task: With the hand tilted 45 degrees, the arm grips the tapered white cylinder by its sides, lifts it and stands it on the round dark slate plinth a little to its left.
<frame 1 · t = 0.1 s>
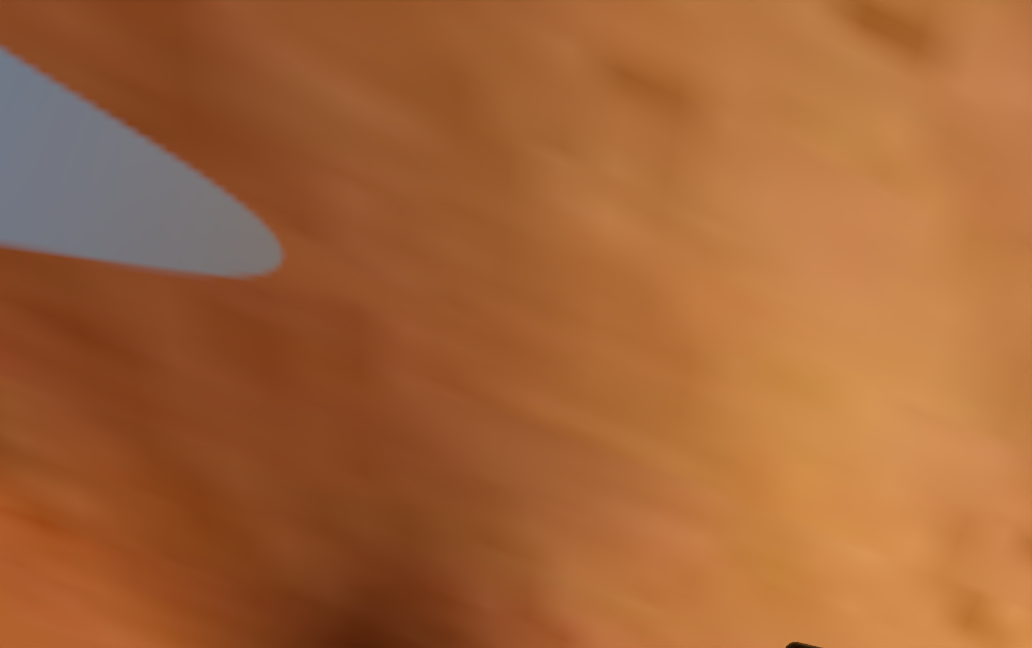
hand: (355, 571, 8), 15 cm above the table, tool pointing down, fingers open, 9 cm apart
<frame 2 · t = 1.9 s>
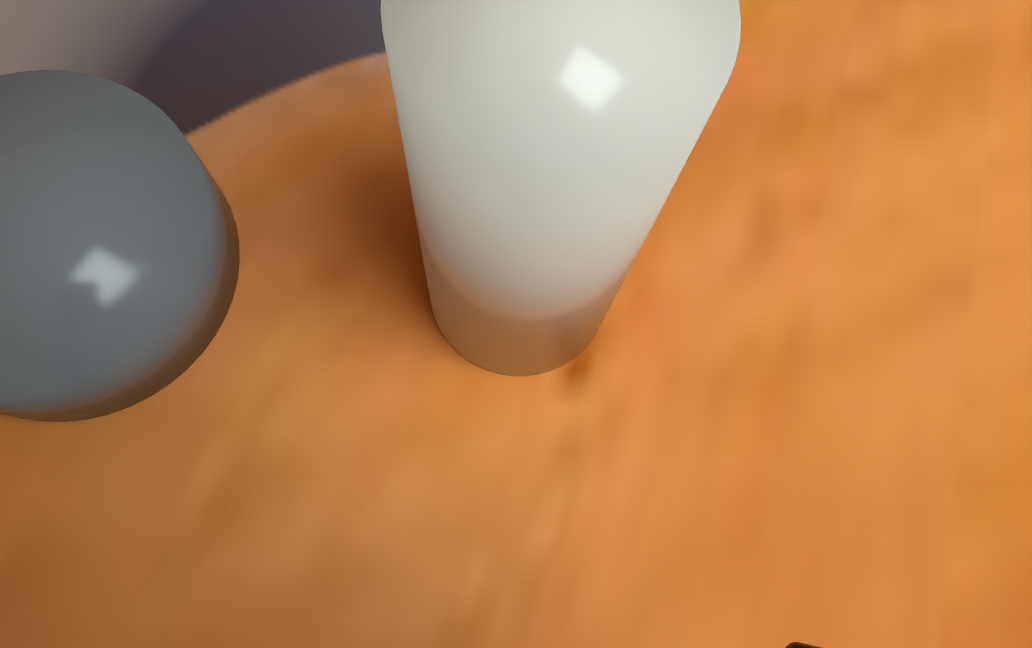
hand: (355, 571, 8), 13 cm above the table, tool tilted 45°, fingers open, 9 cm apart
plinth: (80, 266, 23), on the table
tapered white cylinder: (518, 289, 23), on the table
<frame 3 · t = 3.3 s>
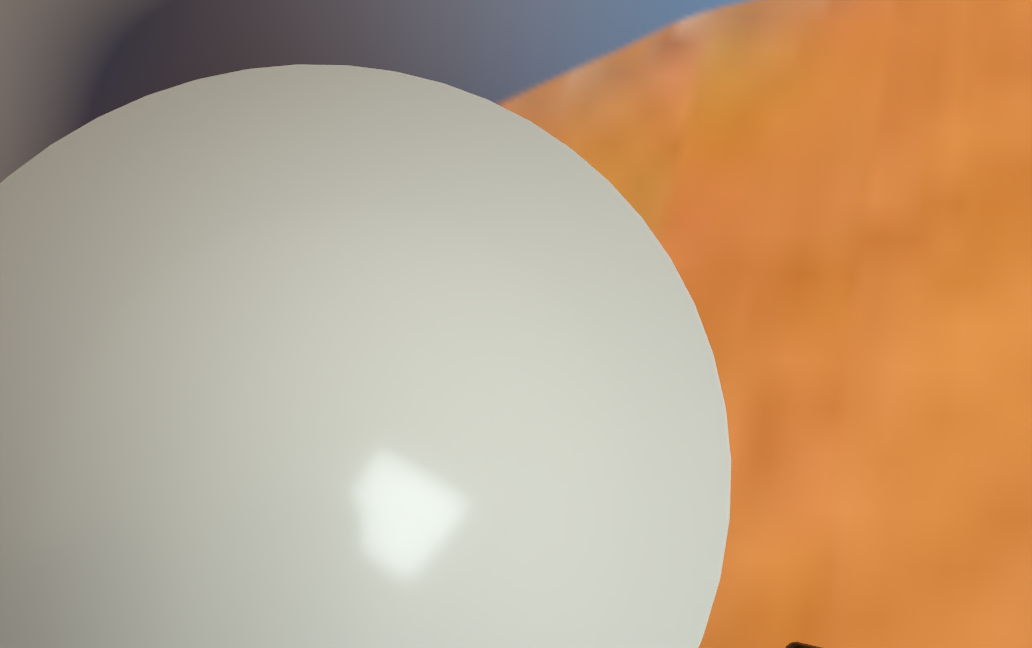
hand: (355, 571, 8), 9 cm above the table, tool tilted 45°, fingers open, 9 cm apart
tapered white cylinder: (423, 539, 17), on the table
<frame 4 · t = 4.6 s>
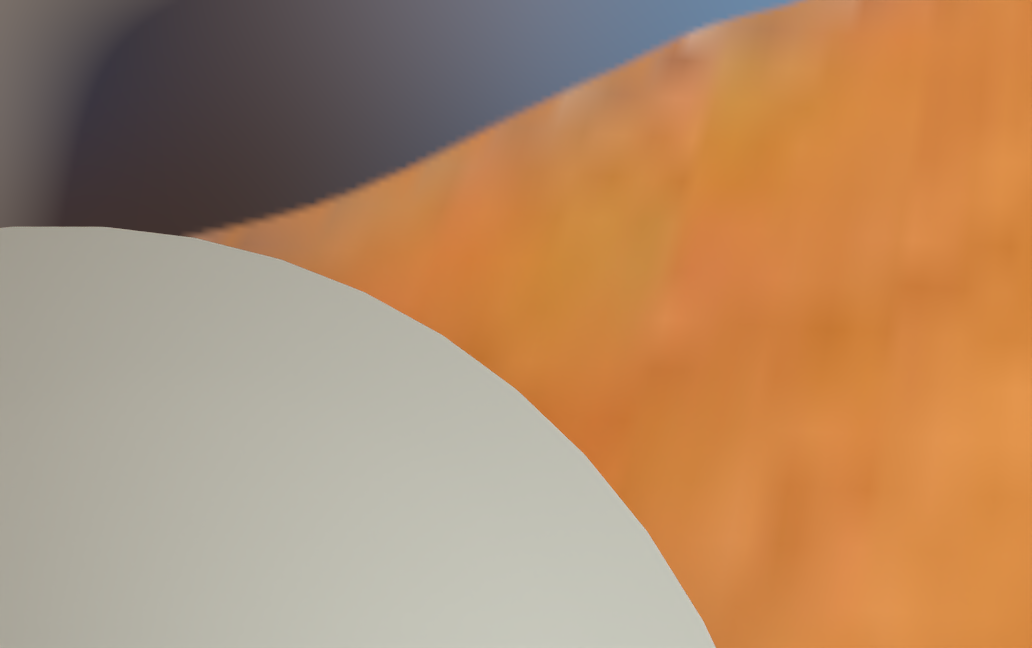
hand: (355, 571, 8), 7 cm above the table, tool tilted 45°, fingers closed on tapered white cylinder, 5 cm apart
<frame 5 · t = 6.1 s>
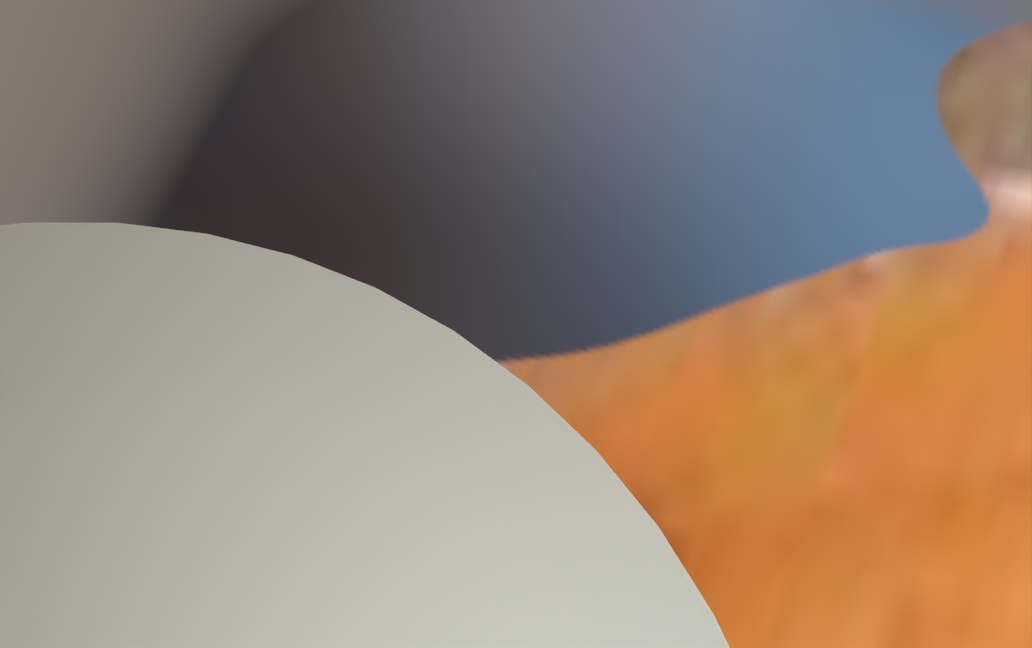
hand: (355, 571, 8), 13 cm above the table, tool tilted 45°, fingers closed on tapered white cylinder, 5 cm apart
when the fingers open (11 cm above the table, at t = 7.7 s): tapered white cylinder stays where it is, resting on plinth.
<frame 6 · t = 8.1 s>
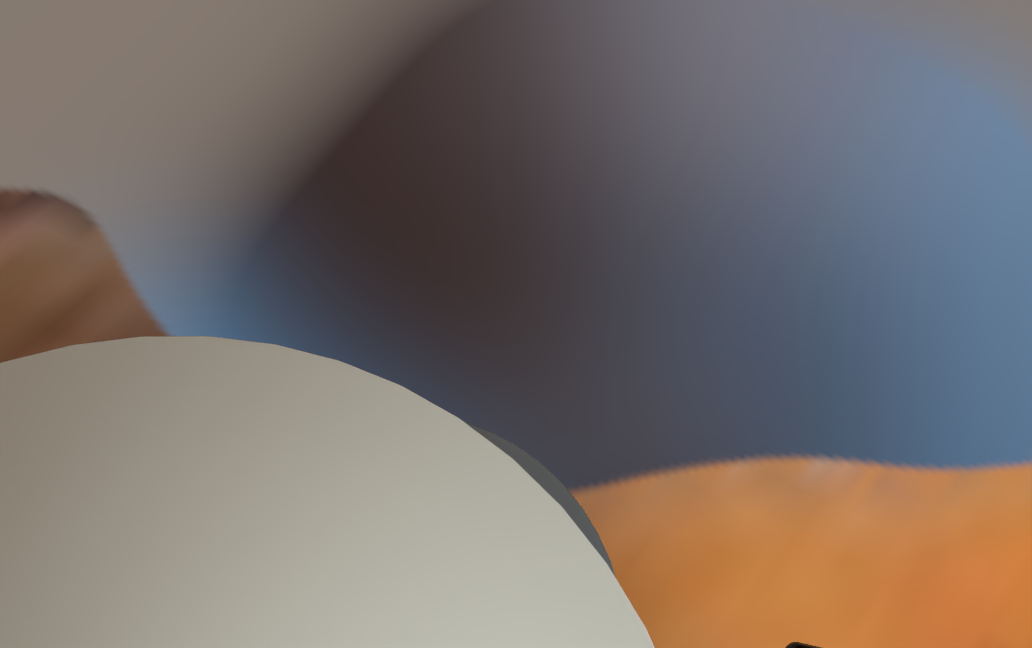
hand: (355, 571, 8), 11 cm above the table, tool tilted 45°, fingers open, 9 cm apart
plinth: (406, 633, 18), on the table
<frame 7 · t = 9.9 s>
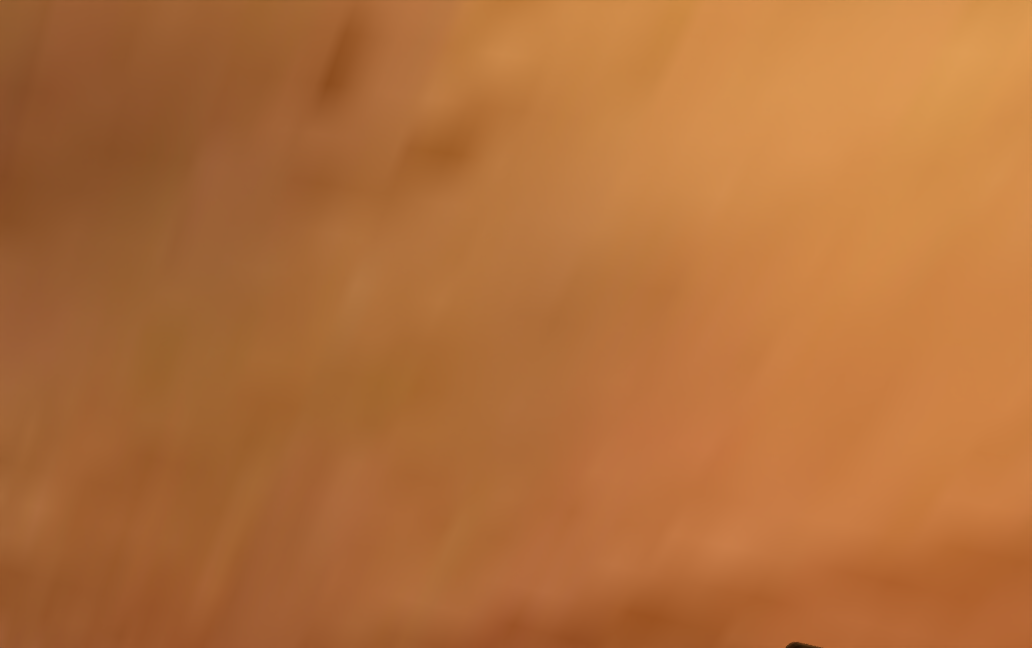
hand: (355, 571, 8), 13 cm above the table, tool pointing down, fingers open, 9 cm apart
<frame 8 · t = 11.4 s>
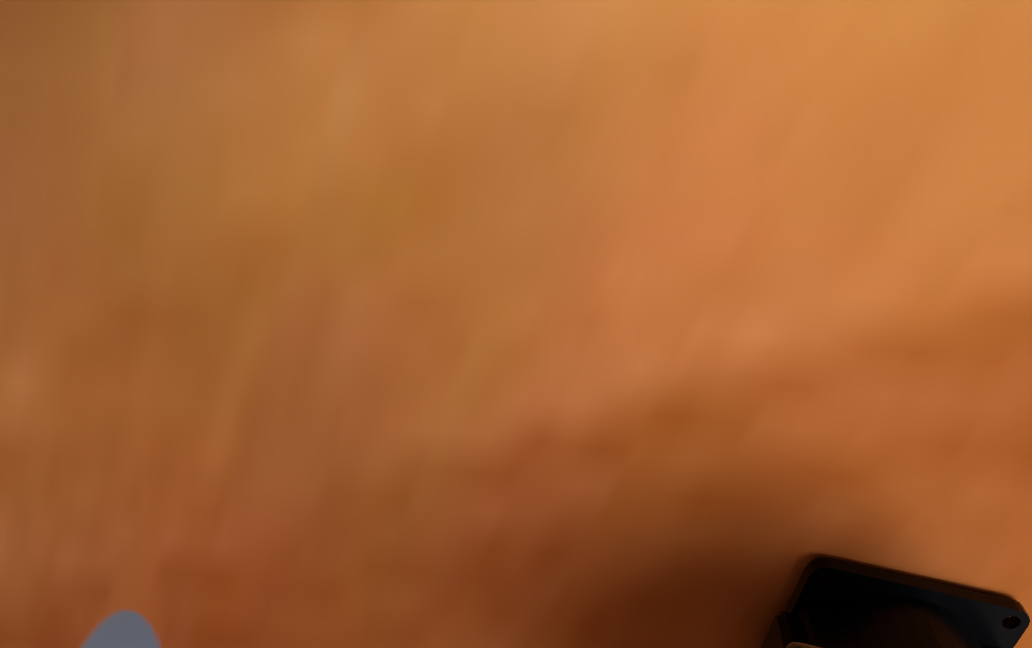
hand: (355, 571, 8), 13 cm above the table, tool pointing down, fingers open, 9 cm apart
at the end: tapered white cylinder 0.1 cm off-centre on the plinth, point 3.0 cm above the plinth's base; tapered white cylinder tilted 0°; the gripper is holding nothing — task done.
